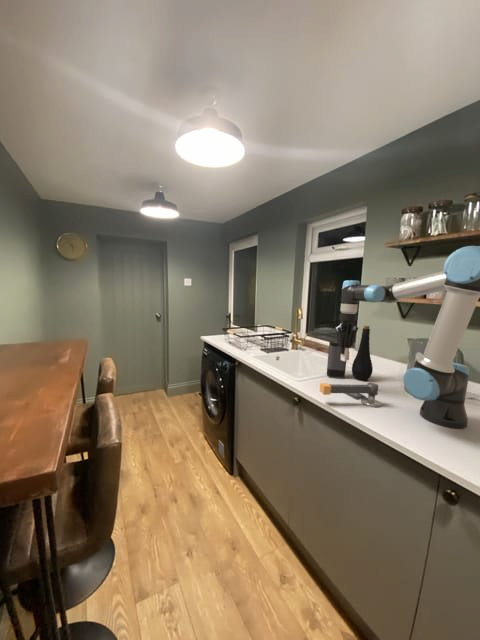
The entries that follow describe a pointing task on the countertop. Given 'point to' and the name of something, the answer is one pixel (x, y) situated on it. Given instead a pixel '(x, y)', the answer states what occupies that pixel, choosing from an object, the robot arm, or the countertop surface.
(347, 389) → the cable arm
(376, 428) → the countertop surface
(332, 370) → the electronic device
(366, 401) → the pivot post
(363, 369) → the bottle
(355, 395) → the power supply label
